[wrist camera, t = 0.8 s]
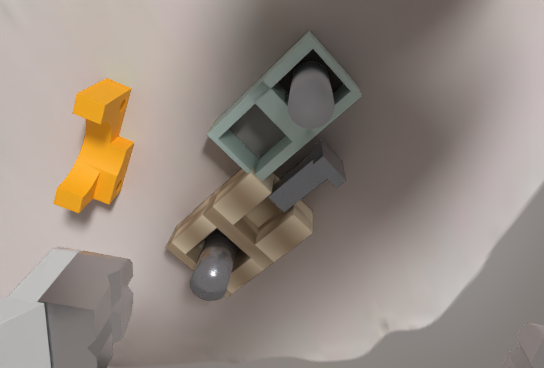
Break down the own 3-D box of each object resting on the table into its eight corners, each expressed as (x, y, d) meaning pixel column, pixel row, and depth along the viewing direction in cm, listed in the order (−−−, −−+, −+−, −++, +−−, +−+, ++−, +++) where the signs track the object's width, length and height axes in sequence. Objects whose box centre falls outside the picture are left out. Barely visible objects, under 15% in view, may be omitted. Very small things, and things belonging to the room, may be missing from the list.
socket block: (232, 273, 53) (226, 298, 49) (176, 225, 51) (165, 247, 46) (312, 211, 48) (313, 233, 44) (255, 155, 46) (250, 173, 42)
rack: (309, 30, 40) (309, 44, 32) (357, 85, 42) (370, 113, 34) (214, 121, 45) (192, 156, 36) (262, 168, 47) (252, 211, 38)
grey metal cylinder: (224, 214, 49) (207, 264, 41) (247, 234, 50) (234, 287, 42) (203, 232, 51) (182, 284, 42) (225, 251, 52) (209, 306, 43)
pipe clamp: (120, 191, 49) (95, 219, 43) (83, 176, 49) (53, 203, 43) (148, 95, 44) (124, 112, 38) (107, 77, 44) (76, 93, 38)
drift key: (287, 205, 47) (285, 227, 43) (267, 185, 46) (263, 205, 42) (342, 161, 44) (345, 180, 40) (321, 139, 43) (323, 156, 39)
